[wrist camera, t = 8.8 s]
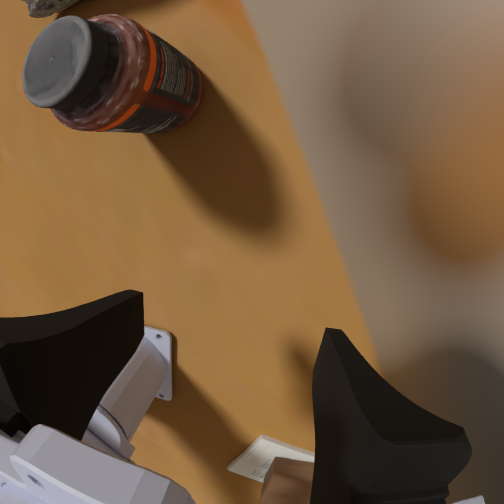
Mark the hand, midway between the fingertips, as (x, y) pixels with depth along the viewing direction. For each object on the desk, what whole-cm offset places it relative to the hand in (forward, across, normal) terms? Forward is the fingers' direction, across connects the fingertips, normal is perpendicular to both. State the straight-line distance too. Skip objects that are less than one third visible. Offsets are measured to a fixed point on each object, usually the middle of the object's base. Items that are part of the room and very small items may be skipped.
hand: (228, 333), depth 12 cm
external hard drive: (+11, -7, +25) cm, 28 cm away
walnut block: (+10, -7, +24) cm, 27 cm away
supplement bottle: (+11, +8, -10) cm, 17 cm away
